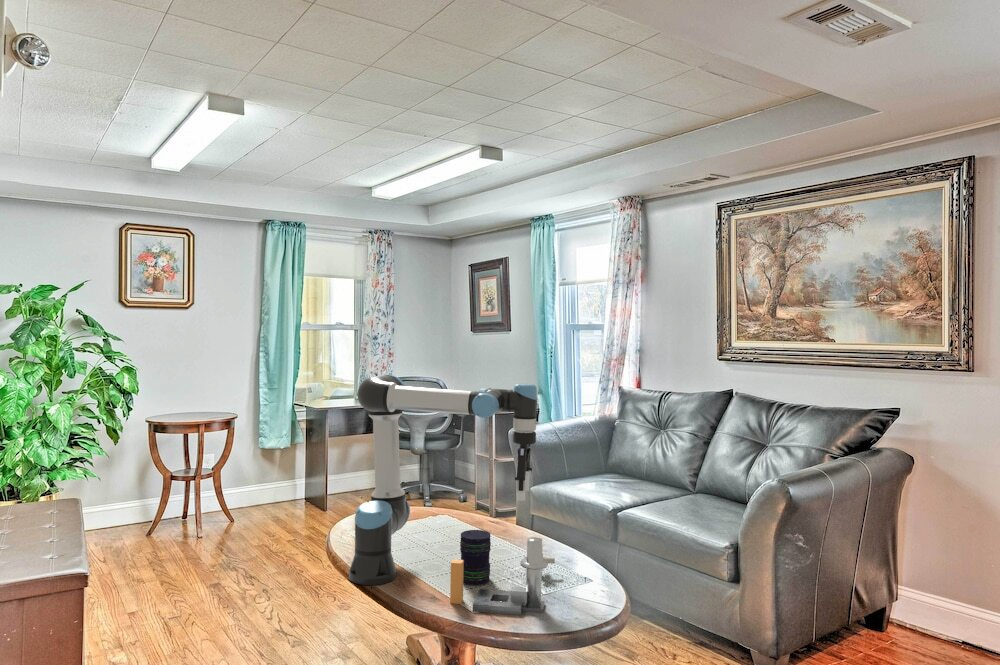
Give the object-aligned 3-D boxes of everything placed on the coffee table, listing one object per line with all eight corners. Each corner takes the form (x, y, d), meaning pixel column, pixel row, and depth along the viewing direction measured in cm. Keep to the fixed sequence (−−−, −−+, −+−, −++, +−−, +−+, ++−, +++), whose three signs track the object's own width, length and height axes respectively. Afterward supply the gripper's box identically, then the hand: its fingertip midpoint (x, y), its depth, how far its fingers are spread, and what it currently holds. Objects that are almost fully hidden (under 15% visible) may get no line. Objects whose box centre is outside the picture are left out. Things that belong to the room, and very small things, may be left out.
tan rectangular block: (450, 603, 207) (450, 562, 207) (452, 598, 210) (453, 559, 210) (460, 603, 206) (461, 563, 206) (463, 599, 209) (463, 559, 209)
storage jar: (496, 580, 226) (497, 534, 226) (475, 588, 219) (476, 541, 218) (474, 572, 233) (475, 527, 232) (453, 580, 225) (453, 534, 225)
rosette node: (472, 611, 201) (473, 542, 201) (480, 595, 213) (481, 530, 213) (545, 617, 198) (546, 546, 198) (548, 600, 210) (550, 534, 210)
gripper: (532, 437, 217) (530, 505, 217) (539, 426, 241) (537, 487, 242) (508, 436, 218) (506, 504, 218) (517, 425, 242) (516, 486, 243)
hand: (523, 495), depth 230 cm, fingers open, 13 cm apart
